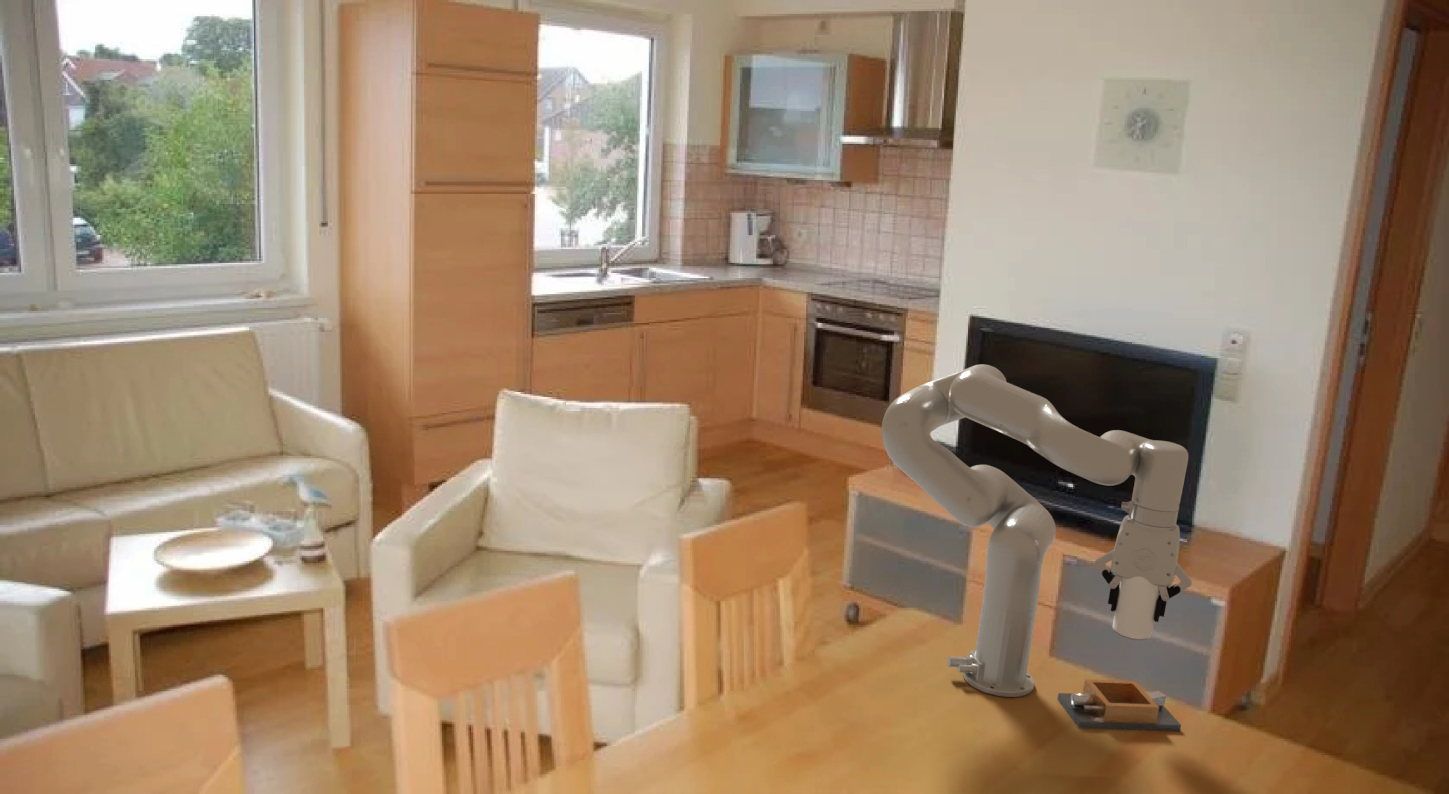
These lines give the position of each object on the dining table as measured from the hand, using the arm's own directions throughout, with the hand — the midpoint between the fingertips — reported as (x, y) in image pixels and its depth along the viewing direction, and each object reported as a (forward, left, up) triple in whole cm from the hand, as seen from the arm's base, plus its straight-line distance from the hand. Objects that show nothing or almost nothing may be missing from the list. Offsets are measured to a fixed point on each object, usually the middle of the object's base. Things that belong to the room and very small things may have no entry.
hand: (1135, 613), depth 199 cm
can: (0, 0, -4) cm, 4 cm away
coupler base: (0, 0, -19) cm, 19 cm away
